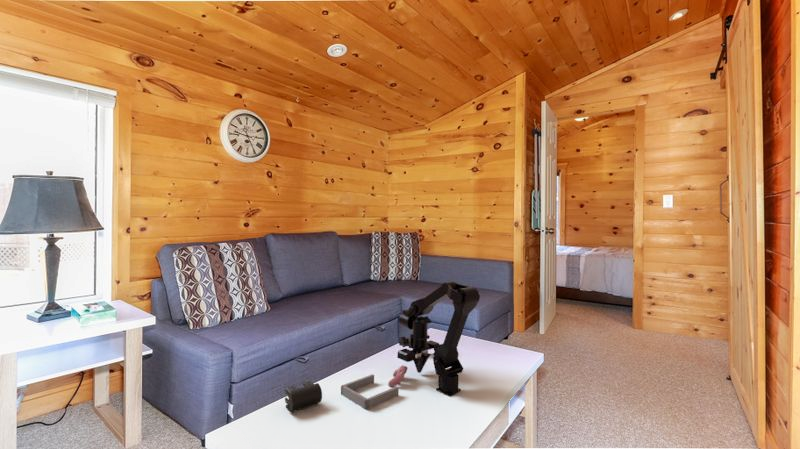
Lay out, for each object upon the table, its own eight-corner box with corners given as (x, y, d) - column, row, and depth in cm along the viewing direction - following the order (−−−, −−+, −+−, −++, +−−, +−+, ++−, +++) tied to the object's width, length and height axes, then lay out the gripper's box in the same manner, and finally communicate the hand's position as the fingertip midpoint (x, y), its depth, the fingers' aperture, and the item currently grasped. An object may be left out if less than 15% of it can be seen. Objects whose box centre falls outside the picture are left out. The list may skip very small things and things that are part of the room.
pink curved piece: (397, 392, 137) (406, 376, 136) (386, 385, 138) (395, 369, 137) (402, 380, 147) (411, 365, 146) (392, 374, 148) (400, 359, 147)
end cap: (292, 417, 117) (292, 395, 117) (283, 407, 123) (283, 386, 122) (322, 407, 123) (322, 386, 123) (312, 398, 129) (312, 378, 129)
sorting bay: (398, 395, 131) (398, 387, 131) (366, 410, 122) (366, 400, 122) (372, 382, 142) (372, 374, 141) (340, 394, 132) (341, 385, 132)
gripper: (421, 323, 160) (420, 360, 161) (388, 332, 148) (387, 372, 148) (441, 329, 152) (440, 368, 153) (408, 339, 140) (407, 382, 140)
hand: (419, 372), depth 149 cm, fingers closed
